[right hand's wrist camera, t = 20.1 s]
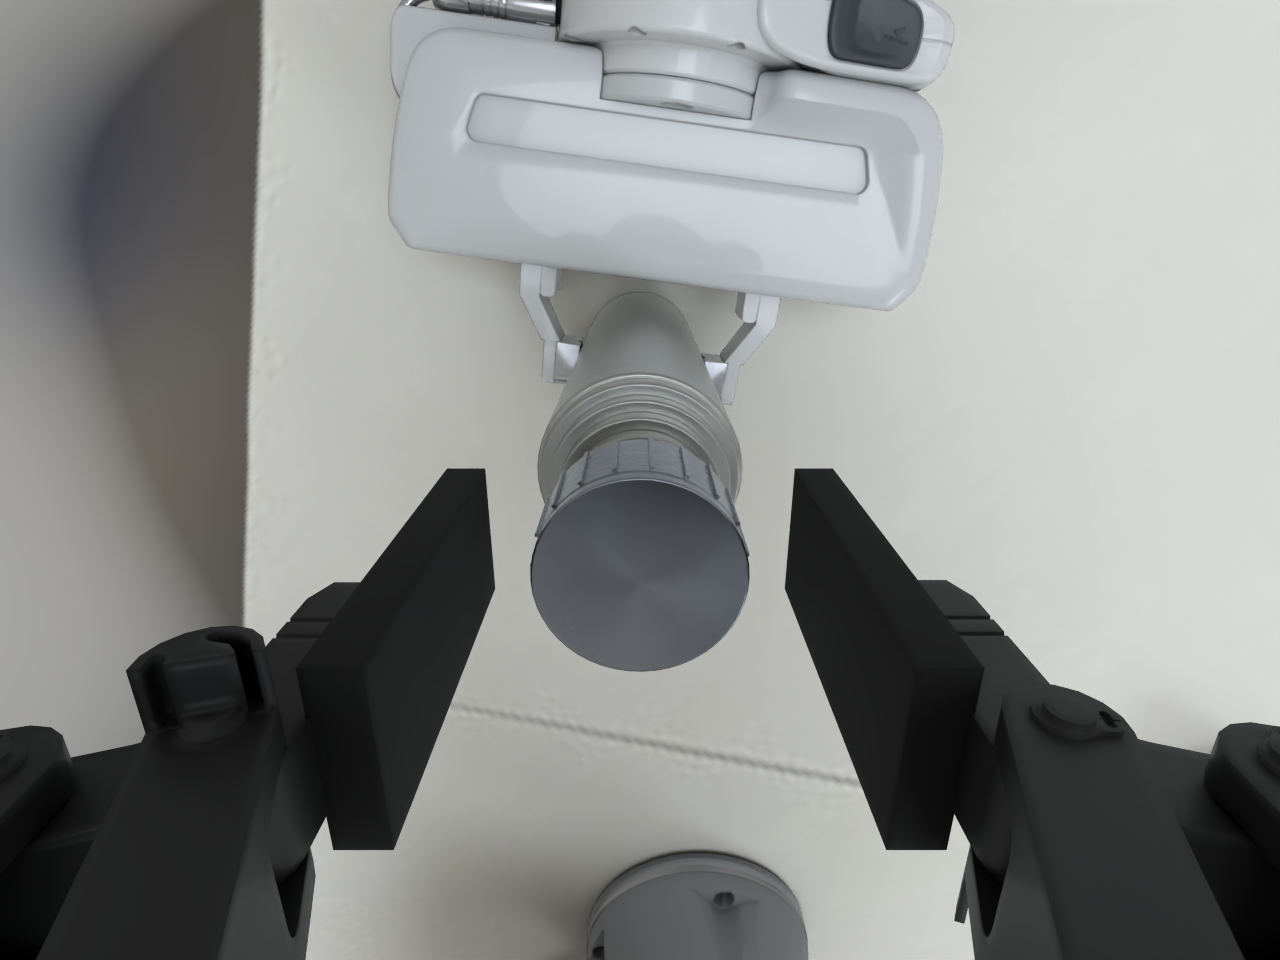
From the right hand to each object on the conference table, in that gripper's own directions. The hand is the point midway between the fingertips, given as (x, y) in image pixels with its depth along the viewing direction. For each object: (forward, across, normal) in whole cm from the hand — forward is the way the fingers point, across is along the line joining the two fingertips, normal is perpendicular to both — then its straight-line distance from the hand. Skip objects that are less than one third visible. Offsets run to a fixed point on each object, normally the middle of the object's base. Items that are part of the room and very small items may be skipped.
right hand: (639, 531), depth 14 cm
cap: (-2, 0, 0) cm, 2 cm away
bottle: (+22, 0, 0) cm, 22 cm away
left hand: (+16, 0, -1) cm, 16 cm away
